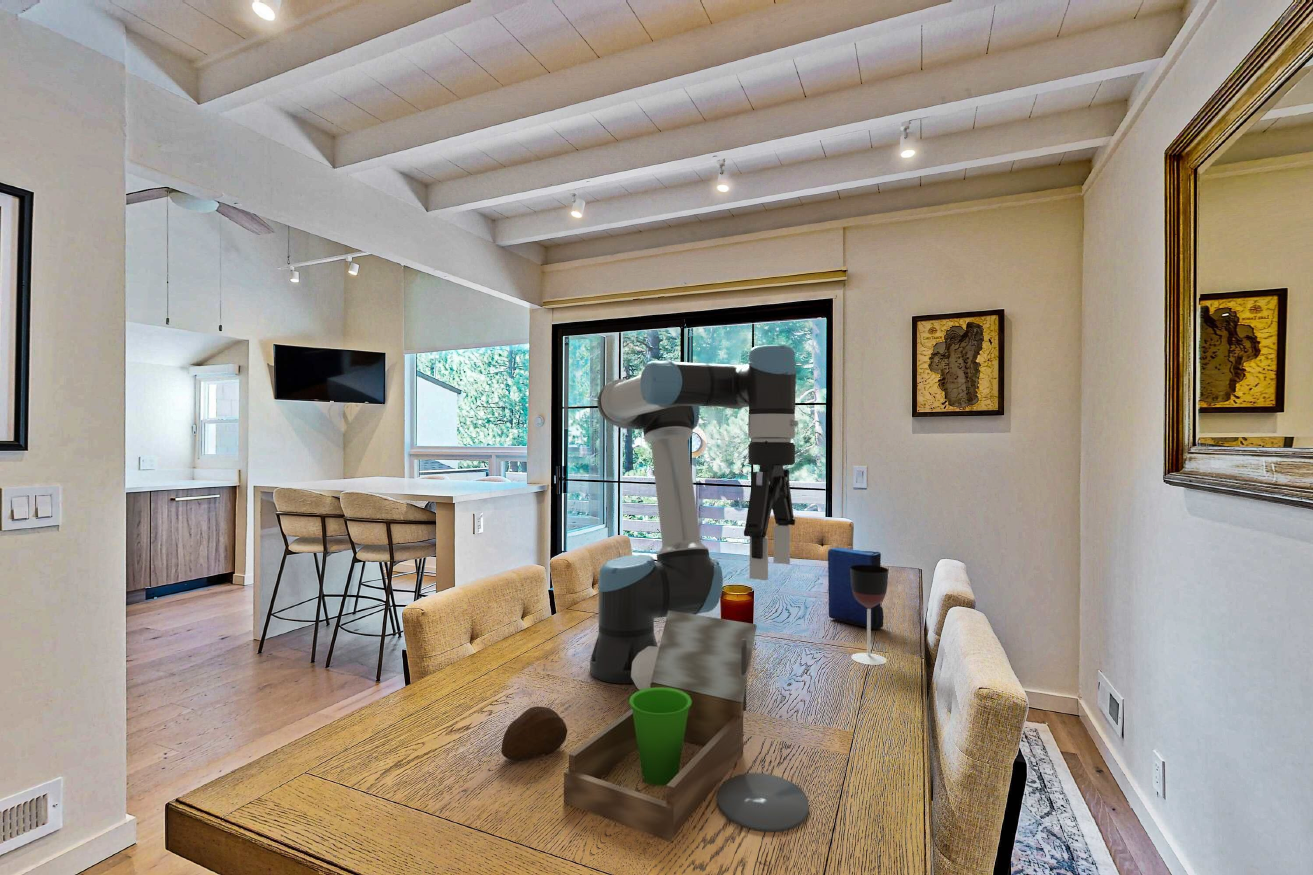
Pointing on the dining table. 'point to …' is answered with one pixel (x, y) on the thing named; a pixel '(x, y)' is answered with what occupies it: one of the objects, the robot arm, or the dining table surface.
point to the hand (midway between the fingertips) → (770, 570)
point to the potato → (534, 734)
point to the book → (840, 588)
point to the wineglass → (869, 601)
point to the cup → (660, 731)
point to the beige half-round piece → (644, 667)
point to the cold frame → (715, 679)
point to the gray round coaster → (762, 802)
